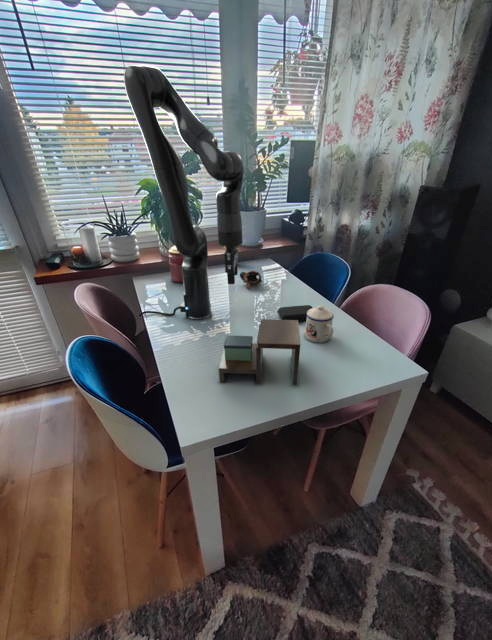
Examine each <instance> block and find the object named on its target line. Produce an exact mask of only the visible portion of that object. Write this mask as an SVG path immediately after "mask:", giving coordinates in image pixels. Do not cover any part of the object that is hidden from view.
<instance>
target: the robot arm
mask: <svg viewBox="0 0 492 640" xmlns="http://www.w3.org/2000/svg"><path fill="white" fill-rule="evenodd" d="M123 82H124V89H125V93H126V96H127V99H128V101H129V104H130V107H131V110H132V112H133V114H134V116H135V119H136V122H137V124H138V127H139V129H140V131H141V135H142V137H143V140H144V143H145V146H146V149H147V152H148V155H149V158H150V161H151V165H152V169H153V173H154V175H155V179H156V182H157V185H158V187H159V191H160V194H161V197H162V200H163V203H164V206H165V210H166V213H167V216H168V221H169V224H170V230H171V234H172V239H173V242H174V246H176V248H177V250H178V251H179V253H180V254H181V255H183V256H184V259H183V263H182V267H181V268H182V276H183V282H182V283H183V290H184V293H183V301H182V302H181V304H180V306H176V307H174V309H173V311H172V313H167V312H161V311H157V310H156V311H154V310H145V311H142V312H141V313H139V314H138V317H141V316H143V315H145V314H155V315H160V316H167V317H172V316H174V315H176V311H178V310H179V311H180V313H185V318H186V319H191V320H194V321H195V320H196V321H202V320H207V319H208V318H210V317H211V316H212V311H211V310H212V308H211V307H212V303H211V297H210V288H209V287H210V286H209V277H208V275H209V274H208V264H209V251H208V239H207V236H206V233H205V231H204V230H203V228H201V226H198V225H196V224H193V221H192V218H191V217H192V216H191V214H190V209H189V208H190V207H189V184H188V179H187V177H188V176H187V174H186V170H185V167H184V162H183V160H182V157H181V154H180V153H179V151H178V150H177V148H176V147H175V146H174V145H173V143H172V141H170V139H169V138H168V137H167V135H166V134H165V132H164V131H163V129H162V127H161V124H160V122H159V120H158V118H157V117H158V116H157V114H156V111H155V109H161V110H162V111H164V112H165V113H166V114H167V115H168V116H170V117H171V119H172V120H173V121H174V124H175V127H176V130H177V132H178V135H179V137H180V138H181V140H182V142H183V143H184V144H185V145H186V146H187V147H188V148H189V149H190V150H191V151H192V152H193V153H194V154H195V155H196V156H197V157H198V158H199V160H200V163H201V165H203V167H204V169H205V170H206V172H207V174H208V175H209V176H210V177H211V178H213V179H214V180H216V181H217V182H222V186H221V189H220V190H219V191H217V192H216V194H215V195H216V196H215V201H216V203H215V205H216V212H217V213H216V224H217V225H216V227H217V239H218V245H220V246H221V247H223V246H225V247H226V250H224V254H223V257H224V268H225V269H224V272H225V273H226V276H227V277H226V279H227V284H228V285H234V284H236V278H235V276H238V262H239V261H238V260H239V248H238V249H237V246H239V247H240V246H241V245H242V244H243V220H242V212H241V193H242V187H243V182H244V181H243V180H244V173H245V171H244V170H245V169H244V163H243V159H242V157H241V155H240V154H239V153H238V152H236V151H234V150H233V151H232V150H225V151H222V150H221V149H220V148H218V147H219V143H218V138H217V137H216V136H215V134H214V133H213V132H212V131H211V130H210V129H209V128H208V127H207V126H206V125H205V124H204V123H203V122H202V121H201V120H200V119H199V118H198V117H197V116H196V115H195V114H194V112H193V111H192V110H191V109H190V107H189V106H188V105H187V103H185V101H184V99H183V98H182V96H181V95H180V93H178V91H177V90H176V88H175V87H174V86H173V83H171V81H170V80H169V78H168V77H167V76H166V75H165V73H164V72H163V71H162V70H161V69H159V67H156V66H153V65H152V66H151V65H138V64H137V65H136V64H135V65H133V64H132V65H128V66H127V67H126V68H125V70H124V75H123ZM229 267H230V268H229Z"/></svg>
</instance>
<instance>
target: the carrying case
mask: <svg viewBox="0 0 492 640" xmlns="http://www.w3.org/2000/svg"><path fill="white" fill-rule="evenodd" d="M312 308H314V307H313V306H312V305H310V304H305V305H291V306H281V307H279V308H278V309H277V315H278V316H279V318H280V320H298V322H303V321H306V320H307V315H306V313H307V311H308V310H310V309H312Z"/></svg>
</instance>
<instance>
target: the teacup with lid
mask: <svg viewBox="0 0 492 640" xmlns="http://www.w3.org/2000/svg"><path fill="white" fill-rule="evenodd" d="M306 315H307V320H305V321H306V322H305V331H304V336H305V338H306V340H307V341H310V342H312V343H324V342H328V341H329V340H330V339H331V337H332V336H333V334H334V328H333V326H332V325H333V319H334V316H335V315H334V313H333V311H332V310H330V309H328V308H325V307H324V305H321V304H320V305H318V306H316V307H313V308H312V309H310V310H308V311H307V313H306Z"/></svg>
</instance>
